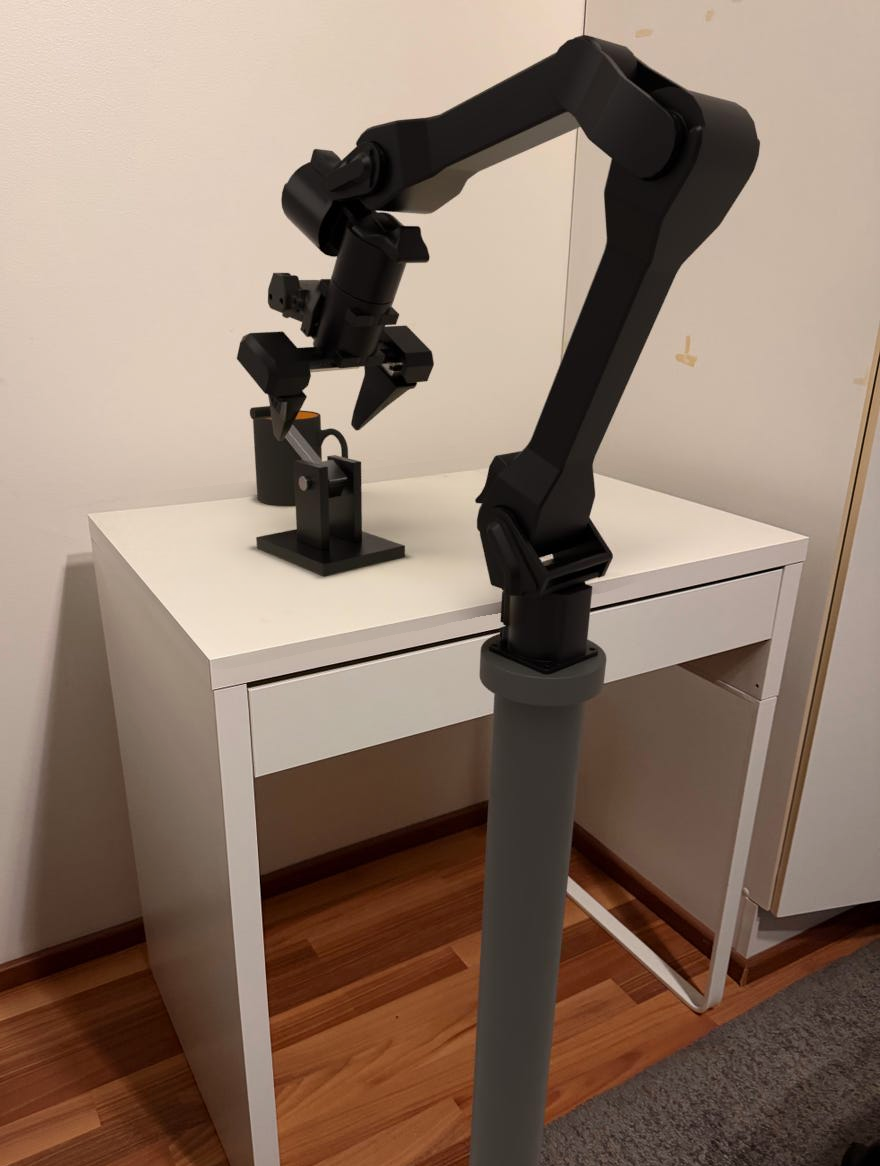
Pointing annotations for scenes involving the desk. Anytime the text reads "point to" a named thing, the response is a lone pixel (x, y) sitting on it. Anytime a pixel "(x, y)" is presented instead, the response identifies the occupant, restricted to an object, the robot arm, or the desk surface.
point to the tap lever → (307, 453)
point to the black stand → (329, 524)
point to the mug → (285, 456)
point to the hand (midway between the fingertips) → (317, 432)
